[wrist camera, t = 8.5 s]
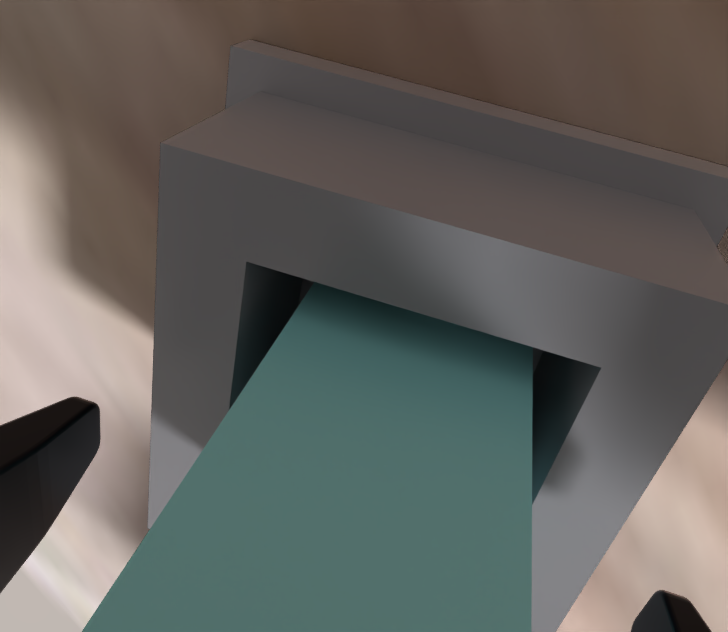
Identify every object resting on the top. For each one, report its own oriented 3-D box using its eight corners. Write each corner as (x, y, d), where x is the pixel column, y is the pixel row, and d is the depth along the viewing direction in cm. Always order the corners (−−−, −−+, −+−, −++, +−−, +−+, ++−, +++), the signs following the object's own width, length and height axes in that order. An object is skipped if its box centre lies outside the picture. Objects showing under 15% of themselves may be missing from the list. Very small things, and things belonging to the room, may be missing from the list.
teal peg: (532, 280, 13) (529, 855, 5) (477, 422, 15) (407, 996, 7) (350, 228, 14) (51, 677, 5) (319, 373, 16) (72, 862, 7)
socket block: (736, 168, 12) (842, 282, 8) (551, 513, 18) (557, 692, 13) (250, 39, 13) (116, 81, 9) (213, 404, 18) (117, 538, 14)
